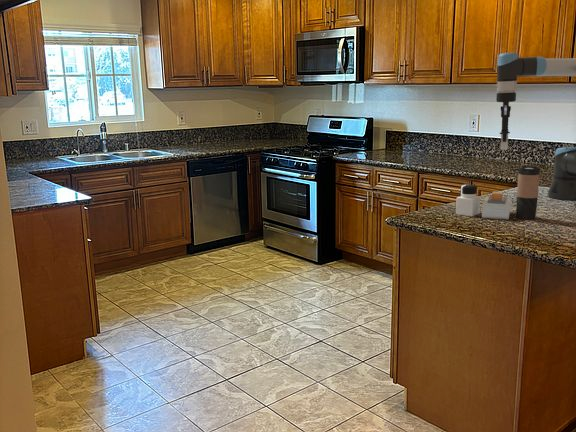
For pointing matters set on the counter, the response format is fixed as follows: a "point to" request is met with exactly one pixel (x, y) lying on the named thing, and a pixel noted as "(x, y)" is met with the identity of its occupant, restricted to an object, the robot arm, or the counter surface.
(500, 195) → the toggle
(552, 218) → the counter surface
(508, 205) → the grey boxy piece
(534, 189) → the travel mug
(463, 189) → the medicine bottle
